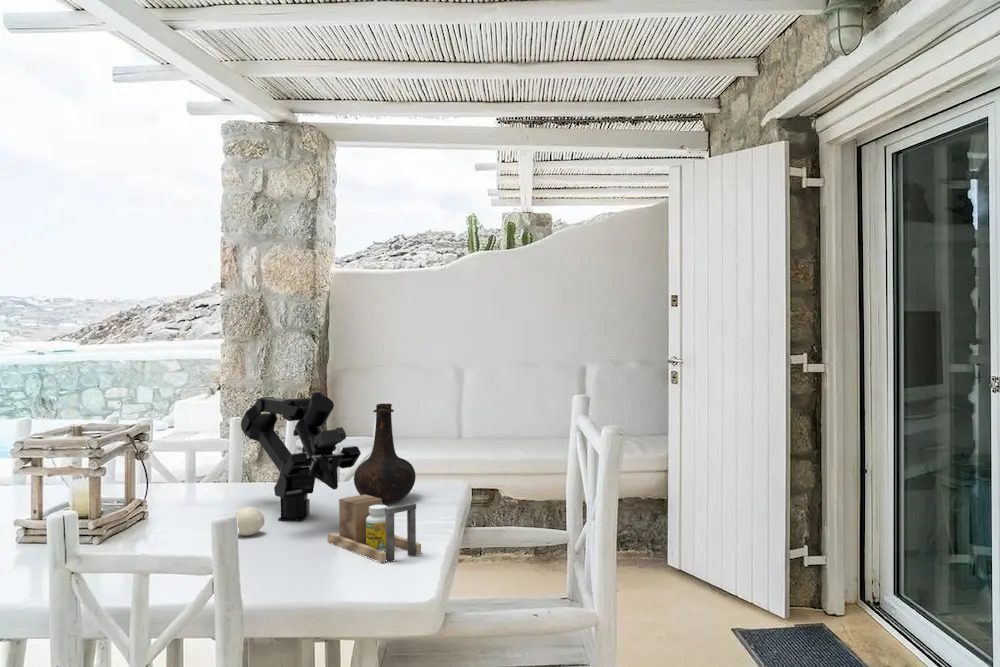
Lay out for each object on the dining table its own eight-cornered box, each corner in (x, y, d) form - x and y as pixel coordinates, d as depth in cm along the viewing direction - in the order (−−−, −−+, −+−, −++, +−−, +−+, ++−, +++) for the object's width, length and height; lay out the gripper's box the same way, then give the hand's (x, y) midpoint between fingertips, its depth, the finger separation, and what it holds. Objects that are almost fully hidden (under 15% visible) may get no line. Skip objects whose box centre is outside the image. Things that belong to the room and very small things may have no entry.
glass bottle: (388, 510, 199) (387, 407, 199) (340, 502, 208) (339, 405, 208) (428, 497, 214) (427, 402, 214) (381, 491, 223) (381, 400, 223)
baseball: (262, 537, 172) (262, 509, 172) (230, 539, 171) (230, 511, 171) (266, 530, 179) (266, 503, 179) (234, 532, 177) (234, 504, 177)
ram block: (339, 542, 168) (339, 499, 168) (365, 536, 172) (365, 494, 172) (356, 548, 162) (355, 504, 162) (382, 542, 167) (381, 499, 167)
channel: (327, 542, 168) (327, 494, 168) (365, 533, 175) (365, 487, 175) (383, 564, 152) (382, 511, 152) (423, 553, 159) (422, 503, 159)
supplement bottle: (394, 547, 164) (394, 504, 164) (383, 554, 159) (383, 510, 159) (373, 545, 166) (372, 503, 166) (361, 551, 160) (361, 508, 160)
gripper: (289, 420, 173) (312, 473, 165) (356, 414, 186) (381, 462, 178) (274, 450, 179) (295, 502, 171) (340, 442, 191) (364, 490, 183)
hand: (335, 488), depth 175 cm, fingers closed
